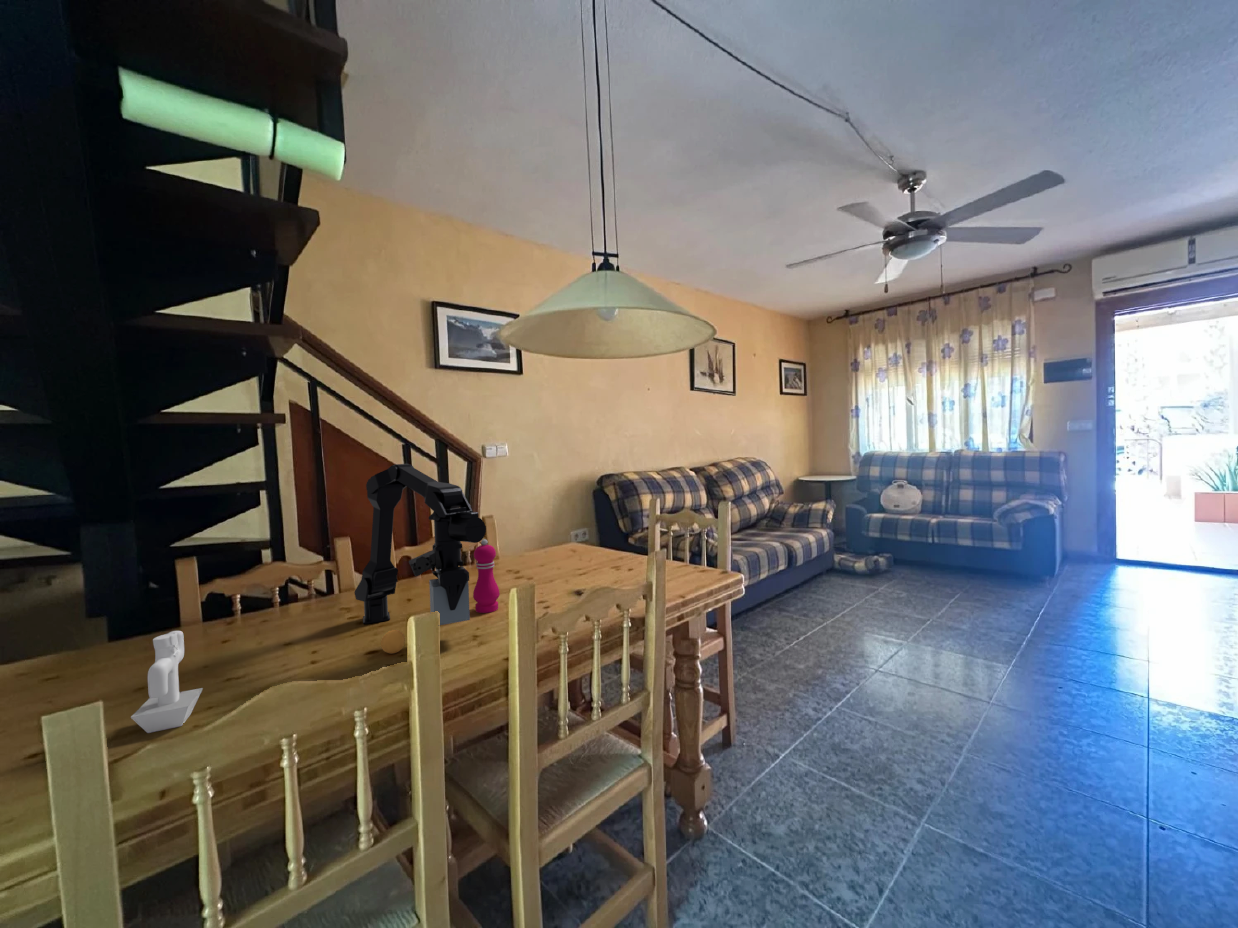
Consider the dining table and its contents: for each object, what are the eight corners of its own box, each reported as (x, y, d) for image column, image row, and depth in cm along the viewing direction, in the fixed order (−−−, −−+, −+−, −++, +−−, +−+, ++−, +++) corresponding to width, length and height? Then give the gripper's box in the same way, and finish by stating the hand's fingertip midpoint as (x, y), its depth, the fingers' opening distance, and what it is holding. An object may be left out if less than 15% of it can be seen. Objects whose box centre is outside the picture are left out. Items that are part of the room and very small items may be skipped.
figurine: (128, 743, 78) (123, 648, 77) (153, 715, 86) (149, 630, 86) (187, 731, 81) (182, 640, 80) (206, 705, 89) (201, 622, 89)
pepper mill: (493, 614, 136) (490, 541, 135) (468, 613, 137) (466, 541, 137) (504, 606, 143) (501, 537, 142) (481, 605, 144) (478, 537, 144)
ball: (381, 651, 112) (380, 629, 112) (405, 646, 114) (404, 625, 114) (381, 658, 108) (380, 636, 107) (406, 654, 110) (405, 631, 110)
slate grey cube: (430, 616, 118) (429, 579, 118) (463, 610, 122) (462, 575, 121) (434, 626, 111) (433, 587, 111) (469, 619, 115) (468, 582, 115)
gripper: (407, 537, 121) (409, 600, 121) (414, 549, 104) (416, 623, 105) (454, 532, 126) (457, 593, 126) (468, 544, 109) (470, 614, 110)
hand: (450, 605), depth 116 cm, fingers closed on slate grey cube, 8 cm apart
